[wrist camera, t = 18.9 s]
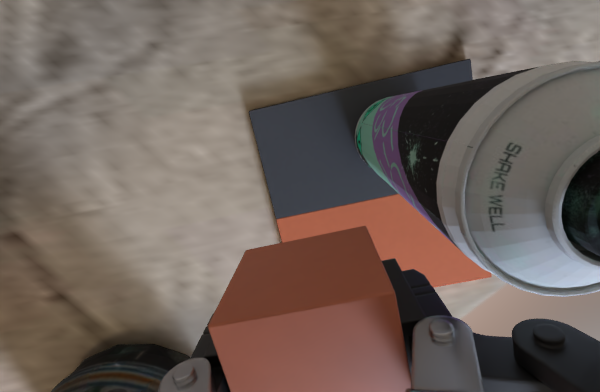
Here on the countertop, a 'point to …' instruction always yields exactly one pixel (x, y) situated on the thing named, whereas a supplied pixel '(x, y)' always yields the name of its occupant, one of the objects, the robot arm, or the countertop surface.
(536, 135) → the spray can
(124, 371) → the beer stein
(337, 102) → the sorting mat
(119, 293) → the countertop surface
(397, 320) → the terracotta block
